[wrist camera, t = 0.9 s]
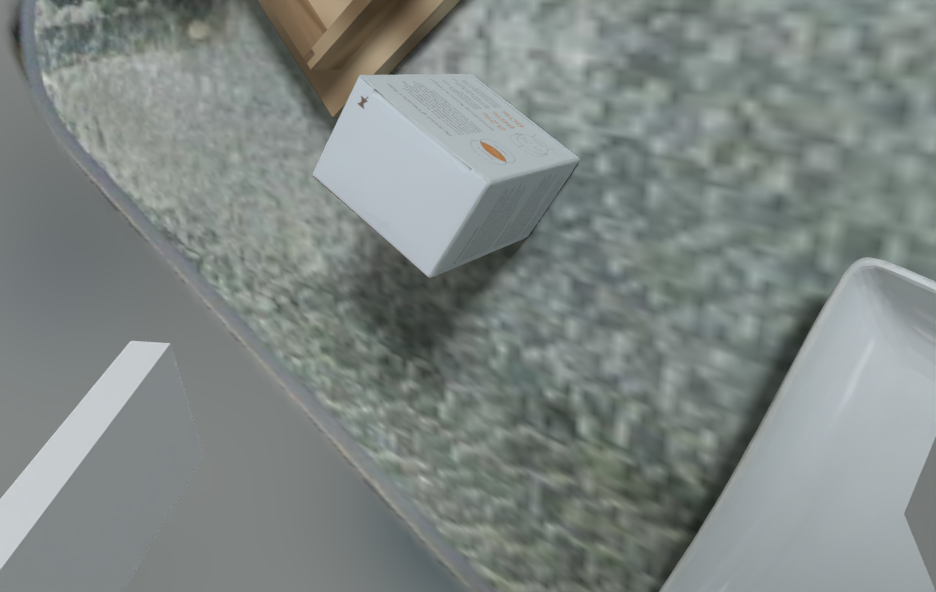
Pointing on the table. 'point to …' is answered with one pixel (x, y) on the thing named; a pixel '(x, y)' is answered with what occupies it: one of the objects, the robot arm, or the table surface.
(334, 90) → the tan wooden flat tray
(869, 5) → the table surface
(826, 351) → the square plate
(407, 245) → the small box
